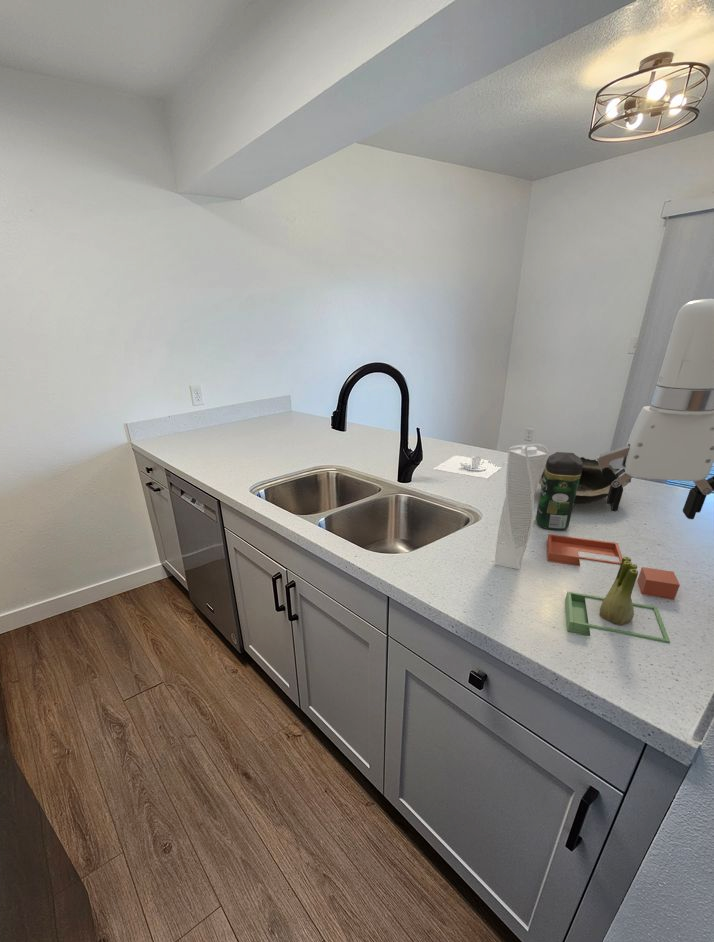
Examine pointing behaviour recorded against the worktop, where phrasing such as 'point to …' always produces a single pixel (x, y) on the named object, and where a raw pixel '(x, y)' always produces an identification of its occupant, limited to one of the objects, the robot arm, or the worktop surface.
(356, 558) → the worktop surface
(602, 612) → the fennel bulb
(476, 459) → the teacup and saucer
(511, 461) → the skyscraper
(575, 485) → the coffee jar
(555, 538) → the terracotta tray
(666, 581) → the terracotta block
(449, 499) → the worktop surface
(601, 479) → the stone bowl
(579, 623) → the green rectangular frame
